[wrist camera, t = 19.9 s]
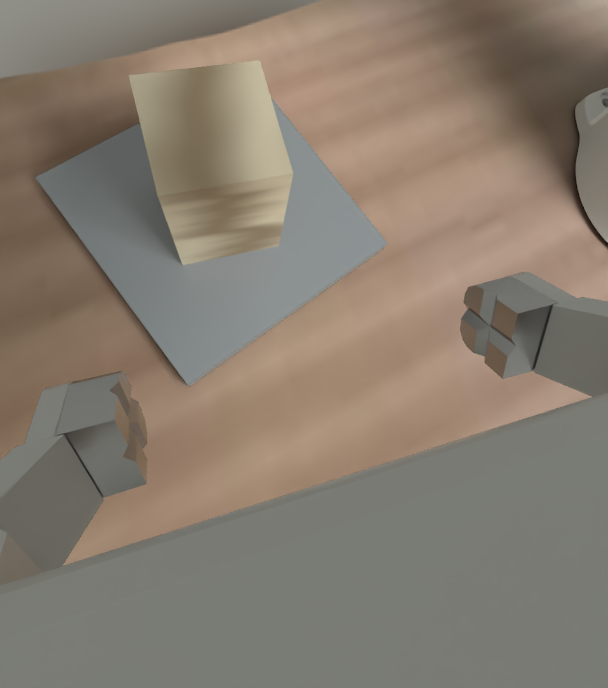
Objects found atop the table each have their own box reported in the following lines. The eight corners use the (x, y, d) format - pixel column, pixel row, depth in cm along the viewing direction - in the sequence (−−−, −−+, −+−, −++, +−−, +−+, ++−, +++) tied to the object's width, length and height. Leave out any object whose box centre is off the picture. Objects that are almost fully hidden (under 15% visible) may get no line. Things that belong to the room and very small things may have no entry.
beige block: (254, 161, 28) (259, 60, 21) (278, 245, 27) (293, 173, 20) (160, 176, 27) (128, 75, 19) (182, 265, 26) (157, 196, 18)
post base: (246, 78, 31) (247, -8, 25) (382, 249, 30) (419, 203, 24) (42, 186, 27) (-15, 116, 21) (189, 386, 26) (173, 373, 20)
